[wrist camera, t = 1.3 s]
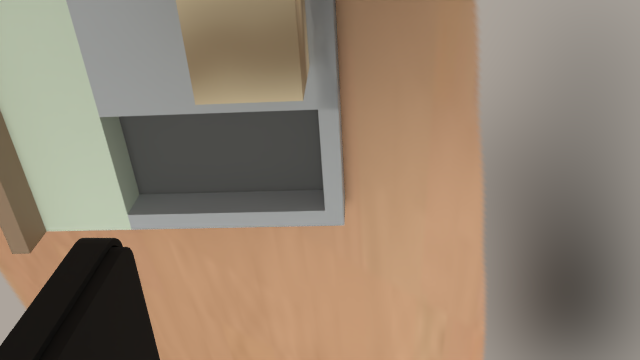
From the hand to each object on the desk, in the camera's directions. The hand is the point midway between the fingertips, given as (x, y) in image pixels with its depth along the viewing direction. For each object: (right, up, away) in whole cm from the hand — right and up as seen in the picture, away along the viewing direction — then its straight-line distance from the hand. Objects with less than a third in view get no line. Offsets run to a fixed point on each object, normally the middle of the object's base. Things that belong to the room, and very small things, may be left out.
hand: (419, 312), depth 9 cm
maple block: (-4, +9, +17) cm, 20 cm away
